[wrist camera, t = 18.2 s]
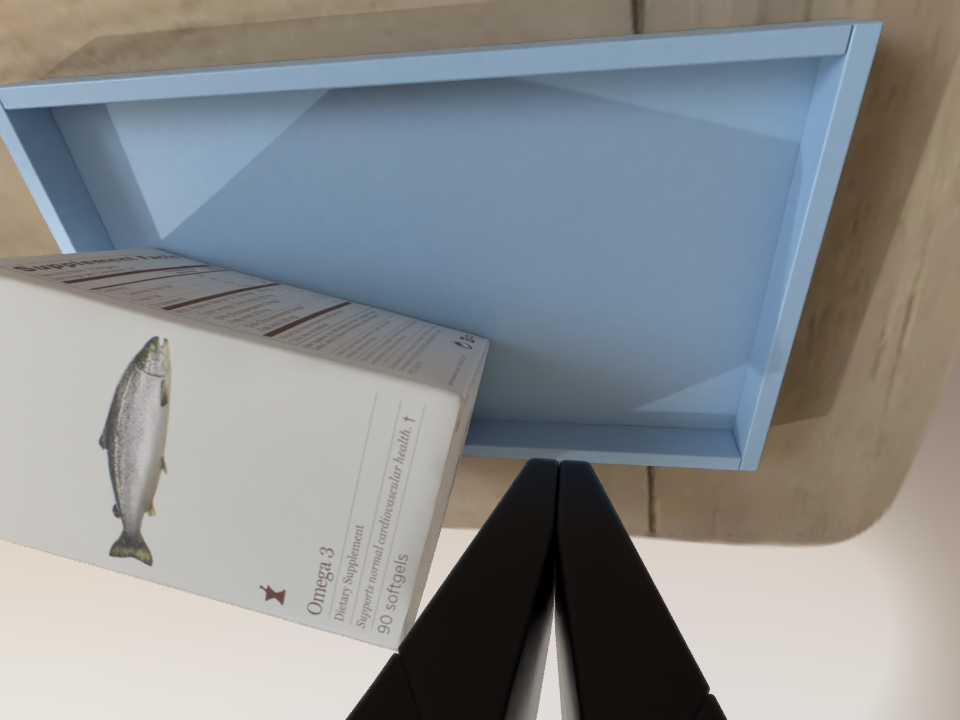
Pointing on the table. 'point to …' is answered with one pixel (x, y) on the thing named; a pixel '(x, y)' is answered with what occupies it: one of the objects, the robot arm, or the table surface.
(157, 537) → the white packaging box
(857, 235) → the table surface
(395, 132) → the tray
